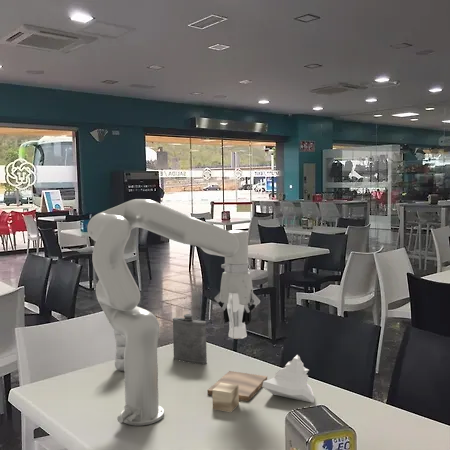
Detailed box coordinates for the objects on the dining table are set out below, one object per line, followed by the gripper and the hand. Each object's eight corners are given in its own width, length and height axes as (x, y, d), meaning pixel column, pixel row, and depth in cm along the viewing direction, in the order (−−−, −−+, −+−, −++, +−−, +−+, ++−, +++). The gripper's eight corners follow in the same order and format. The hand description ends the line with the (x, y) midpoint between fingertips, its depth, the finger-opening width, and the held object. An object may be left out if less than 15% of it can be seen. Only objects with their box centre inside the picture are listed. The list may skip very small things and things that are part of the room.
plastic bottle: (111, 372, 186) (109, 317, 185) (120, 365, 193) (118, 313, 191) (127, 373, 184) (125, 318, 183) (136, 367, 191) (134, 314, 189)
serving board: (248, 401, 160) (248, 396, 160) (207, 394, 165) (207, 389, 165) (267, 380, 176) (267, 376, 176) (229, 375, 182) (229, 370, 182)
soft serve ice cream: (276, 391, 171) (284, 348, 172) (319, 404, 163) (327, 359, 165) (260, 395, 160) (268, 349, 162) (306, 409, 153) (314, 361, 154)
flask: (203, 365, 192) (202, 317, 191) (171, 359, 199) (169, 313, 197) (208, 362, 195) (207, 315, 194) (176, 356, 202) (175, 311, 201)
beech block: (231, 412, 152) (230, 392, 152) (212, 409, 155) (212, 389, 154) (238, 404, 158) (238, 385, 157) (220, 401, 160) (220, 382, 160)
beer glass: (248, 339, 166) (247, 293, 165) (226, 339, 166) (226, 293, 165) (247, 333, 173) (247, 288, 172) (227, 333, 173) (226, 289, 172)
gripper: (207, 268, 168) (208, 323, 169) (257, 271, 161) (258, 328, 162) (217, 265, 174) (218, 317, 176) (265, 267, 168) (266, 322, 169)
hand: (237, 322), depth 169 cm, fingers closed on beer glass, 6 cm apart
